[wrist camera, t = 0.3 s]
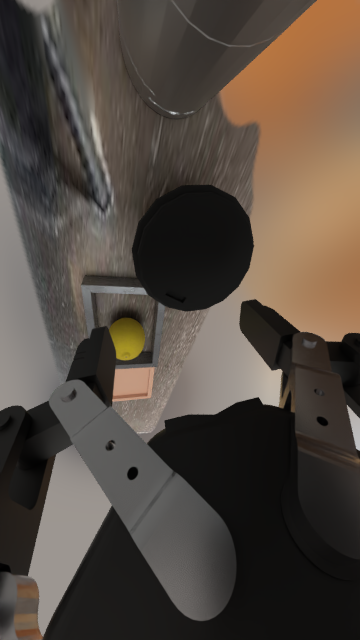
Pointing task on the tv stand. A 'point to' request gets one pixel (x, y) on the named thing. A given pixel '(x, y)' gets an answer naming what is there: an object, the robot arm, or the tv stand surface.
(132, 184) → the tv stand surface
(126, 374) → the tray
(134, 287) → the grey open box
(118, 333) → the lemon
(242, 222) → the coffee cup
